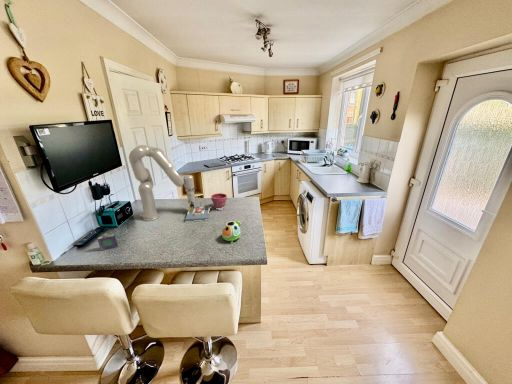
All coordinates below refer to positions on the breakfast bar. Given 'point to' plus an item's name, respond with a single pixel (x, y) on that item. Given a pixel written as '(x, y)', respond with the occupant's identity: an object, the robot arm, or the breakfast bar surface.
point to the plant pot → (219, 200)
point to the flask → (107, 242)
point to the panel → (197, 214)
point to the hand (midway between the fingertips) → (192, 208)
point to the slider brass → (191, 209)
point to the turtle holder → (231, 231)
